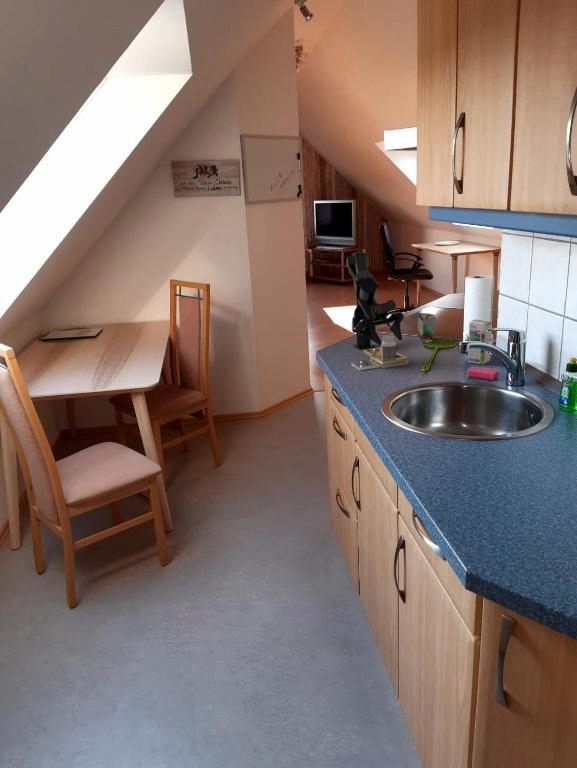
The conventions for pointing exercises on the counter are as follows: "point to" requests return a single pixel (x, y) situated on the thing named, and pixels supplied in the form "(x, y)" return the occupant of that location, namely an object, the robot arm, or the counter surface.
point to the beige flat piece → (379, 360)
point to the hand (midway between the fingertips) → (391, 342)
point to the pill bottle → (388, 347)
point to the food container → (426, 326)
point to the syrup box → (479, 334)
